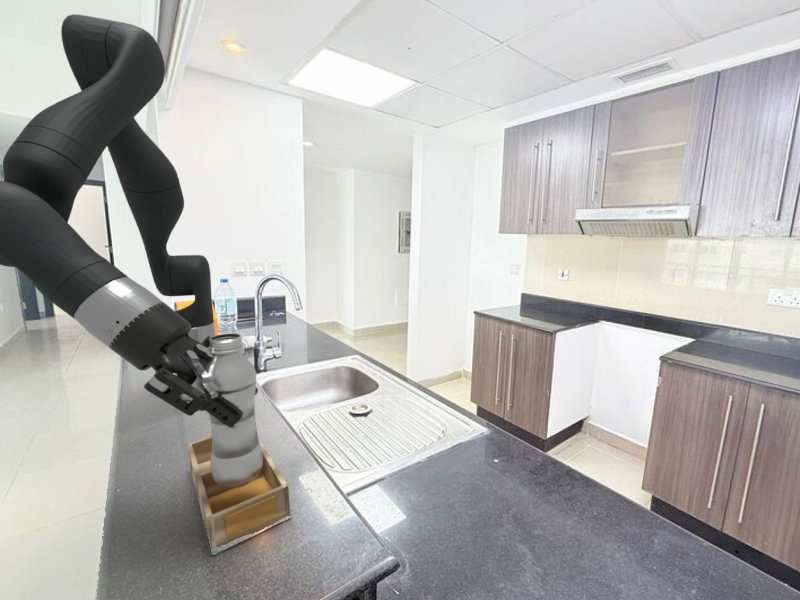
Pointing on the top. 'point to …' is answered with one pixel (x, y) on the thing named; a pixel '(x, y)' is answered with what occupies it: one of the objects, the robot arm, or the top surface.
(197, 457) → the tray
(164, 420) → the top surface
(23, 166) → the robot arm
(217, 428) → the plastic bottle
